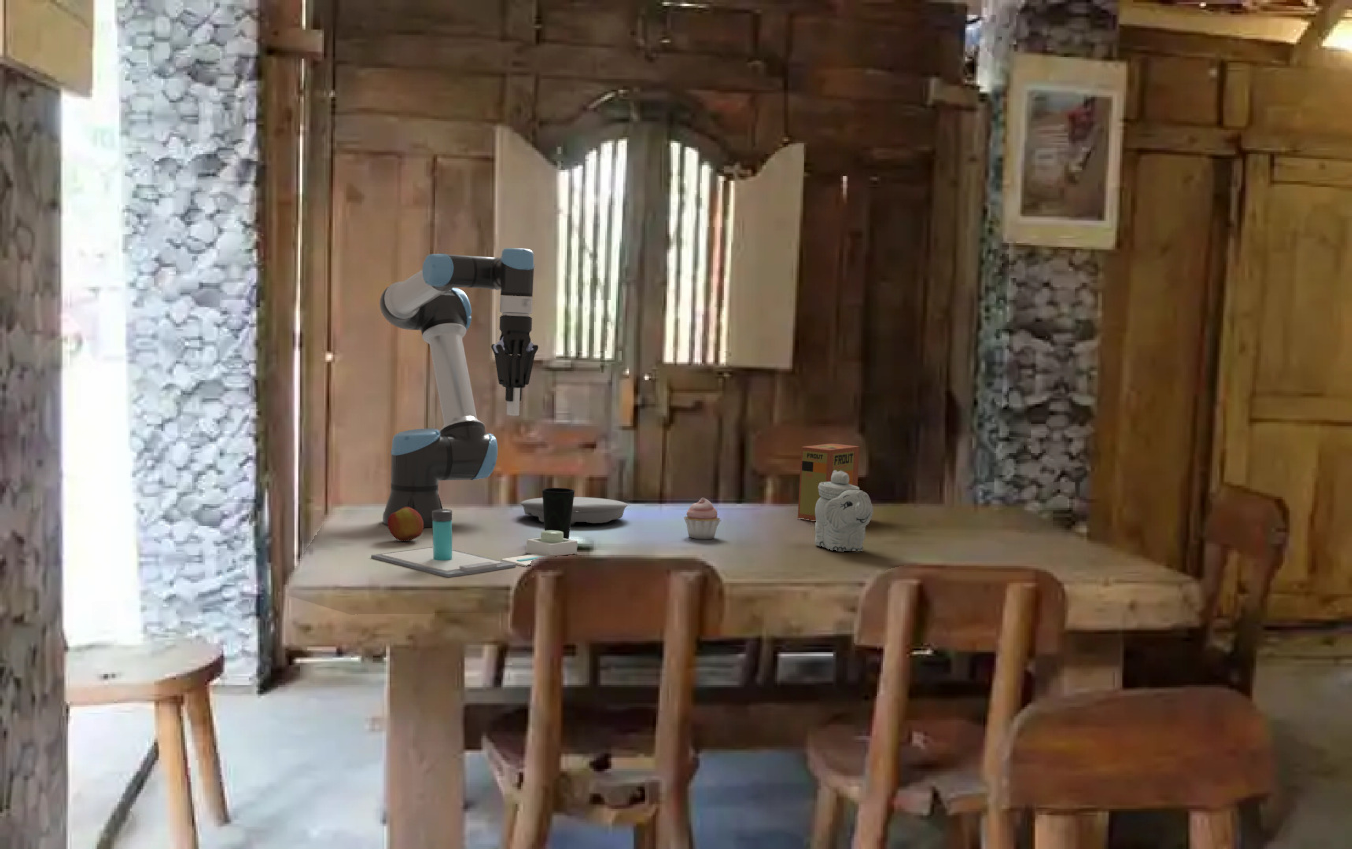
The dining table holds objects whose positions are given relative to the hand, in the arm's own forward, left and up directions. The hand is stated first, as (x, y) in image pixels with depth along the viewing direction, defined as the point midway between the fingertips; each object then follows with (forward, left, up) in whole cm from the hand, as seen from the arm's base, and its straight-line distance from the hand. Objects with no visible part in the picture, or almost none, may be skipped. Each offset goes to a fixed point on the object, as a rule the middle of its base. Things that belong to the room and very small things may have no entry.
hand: (512, 415), depth 313 cm
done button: (+20, -5, -28) cm, 35 cm away
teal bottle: (+14, -31, -29) cm, 44 cm away
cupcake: (+26, +40, -30) cm, 56 cm away
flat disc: (-12, +33, -30) cm, 46 cm away
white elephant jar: (+58, +55, -30) cm, 85 cm away
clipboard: (+14, -31, -29) cm, 45 cm away
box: (+26, +94, -30) cm, 102 cm away
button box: (+20, -5, -29) cm, 36 cm away
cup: (+8, +8, -30) cm, 32 cm away
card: (+24, -15, -29) cm, 41 cm away
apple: (-11, -22, -30) cm, 38 cm away
